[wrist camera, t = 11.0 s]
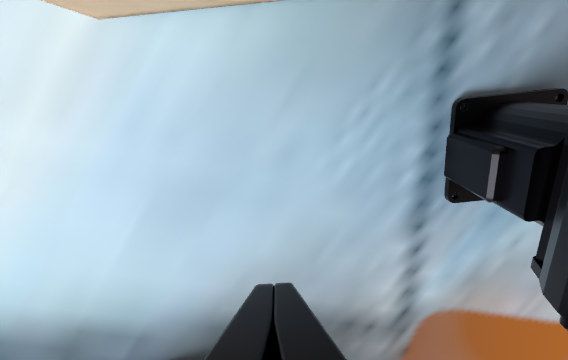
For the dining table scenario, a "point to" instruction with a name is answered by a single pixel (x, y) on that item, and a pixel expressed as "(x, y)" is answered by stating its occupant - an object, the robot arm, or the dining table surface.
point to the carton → (141, 6)
